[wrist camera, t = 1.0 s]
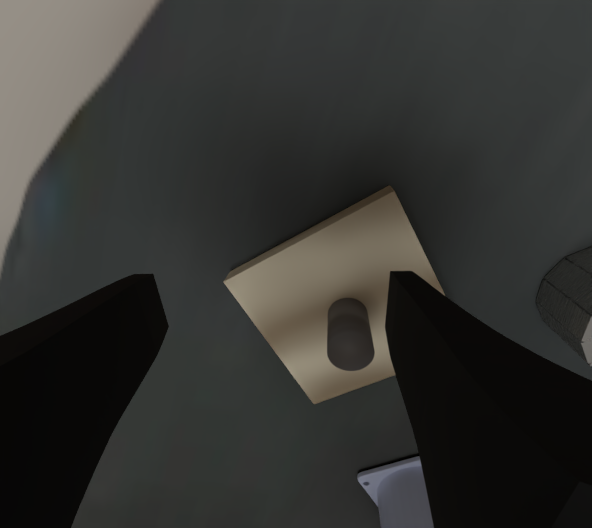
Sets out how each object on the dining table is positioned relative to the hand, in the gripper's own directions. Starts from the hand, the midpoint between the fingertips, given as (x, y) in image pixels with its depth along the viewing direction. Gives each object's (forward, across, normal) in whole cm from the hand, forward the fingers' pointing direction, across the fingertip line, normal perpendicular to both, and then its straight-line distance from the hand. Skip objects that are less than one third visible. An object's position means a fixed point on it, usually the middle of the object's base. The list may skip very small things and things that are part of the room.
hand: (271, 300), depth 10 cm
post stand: (+10, -3, +7) cm, 12 cm away
